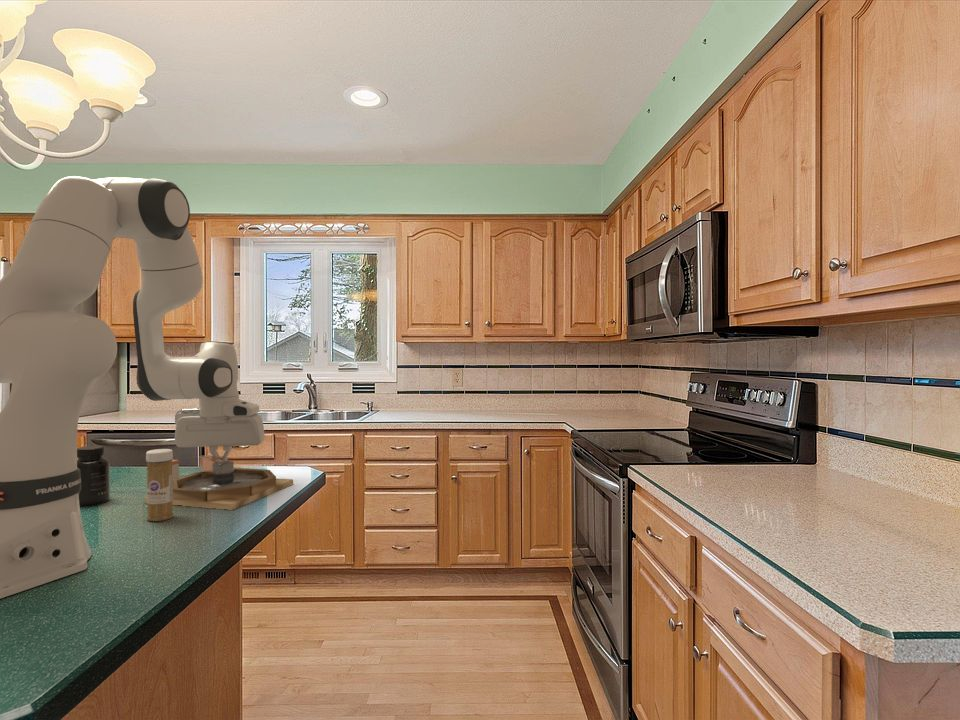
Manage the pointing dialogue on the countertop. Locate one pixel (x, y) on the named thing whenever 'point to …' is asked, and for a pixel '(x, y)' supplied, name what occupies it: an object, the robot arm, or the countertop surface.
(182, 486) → the dial
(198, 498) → the dial housing
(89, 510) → the countertop surface
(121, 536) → the countertop surface
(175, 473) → the post
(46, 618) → the countertop surface
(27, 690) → the countertop surface
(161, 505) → the sprinkles bottle
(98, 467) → the supplement bottle
